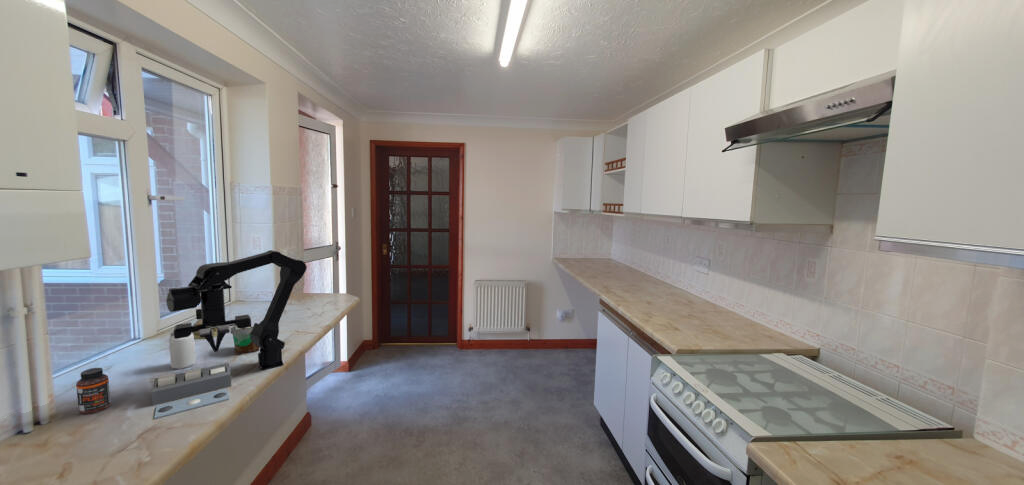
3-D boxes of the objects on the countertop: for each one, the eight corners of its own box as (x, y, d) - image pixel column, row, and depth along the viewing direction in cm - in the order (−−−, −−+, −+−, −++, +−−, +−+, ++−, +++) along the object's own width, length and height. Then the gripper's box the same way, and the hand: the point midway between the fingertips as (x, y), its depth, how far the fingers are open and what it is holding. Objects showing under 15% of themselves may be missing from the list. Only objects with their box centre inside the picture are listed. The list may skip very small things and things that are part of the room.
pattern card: (227, 389, 115) (227, 388, 114) (229, 399, 109) (229, 398, 109) (156, 407, 104) (156, 405, 104) (154, 419, 99) (154, 417, 99)
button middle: (201, 373, 117) (200, 368, 117) (201, 378, 114) (200, 372, 114) (185, 377, 114) (185, 371, 114) (185, 381, 112) (185, 375, 112)
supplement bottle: (81, 417, 99) (76, 378, 97) (76, 410, 102) (72, 371, 100) (113, 407, 104) (109, 369, 102) (108, 400, 107) (104, 363, 105)
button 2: (225, 372, 121) (224, 366, 121) (225, 376, 118) (225, 370, 118) (211, 375, 118) (210, 369, 118) (211, 380, 116) (210, 374, 116)
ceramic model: (209, 340, 152) (207, 317, 150) (181, 340, 151) (179, 316, 150) (233, 328, 166) (232, 306, 164) (208, 327, 165) (206, 306, 164)
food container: (224, 351, 141) (222, 326, 140) (240, 345, 147) (239, 321, 146) (244, 357, 137) (243, 331, 136) (261, 351, 142) (260, 326, 141)
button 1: (175, 379, 113) (175, 373, 113) (174, 384, 110) (174, 378, 110) (159, 383, 111) (158, 376, 110) (158, 388, 108) (157, 381, 108)
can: (181, 370, 126) (178, 337, 124) (166, 368, 127) (163, 335, 125) (200, 362, 132) (198, 330, 130) (186, 360, 133) (183, 328, 132)
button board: (229, 374, 124) (228, 362, 124) (231, 386, 117) (230, 374, 116) (155, 390, 113) (154, 378, 112) (152, 405, 105) (151, 392, 105)
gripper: (246, 294, 127) (249, 337, 129) (174, 302, 115) (177, 350, 117) (250, 302, 119) (252, 348, 121) (172, 311, 107) (176, 362, 109)
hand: (216, 351), depth 117 cm, fingers closed
